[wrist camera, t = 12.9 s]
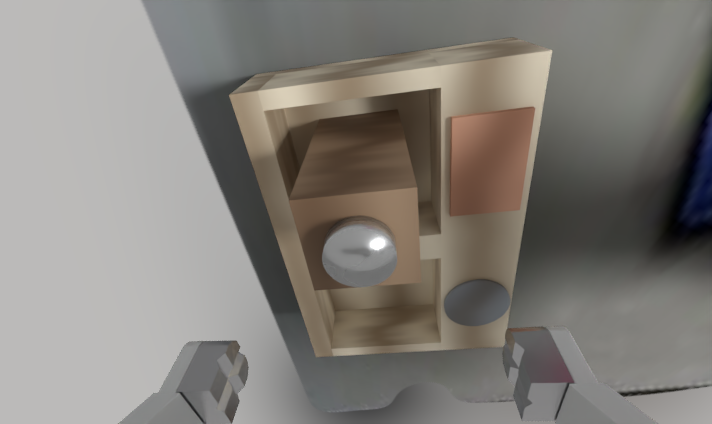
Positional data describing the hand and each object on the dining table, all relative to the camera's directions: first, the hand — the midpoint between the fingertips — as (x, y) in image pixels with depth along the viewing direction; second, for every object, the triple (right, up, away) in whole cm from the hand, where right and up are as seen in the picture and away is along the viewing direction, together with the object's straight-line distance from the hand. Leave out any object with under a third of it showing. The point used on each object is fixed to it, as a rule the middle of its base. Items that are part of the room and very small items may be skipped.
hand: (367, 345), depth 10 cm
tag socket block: (+3, +4, +16) cm, 17 cm away
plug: (0, +8, +12) cm, 15 cm away
